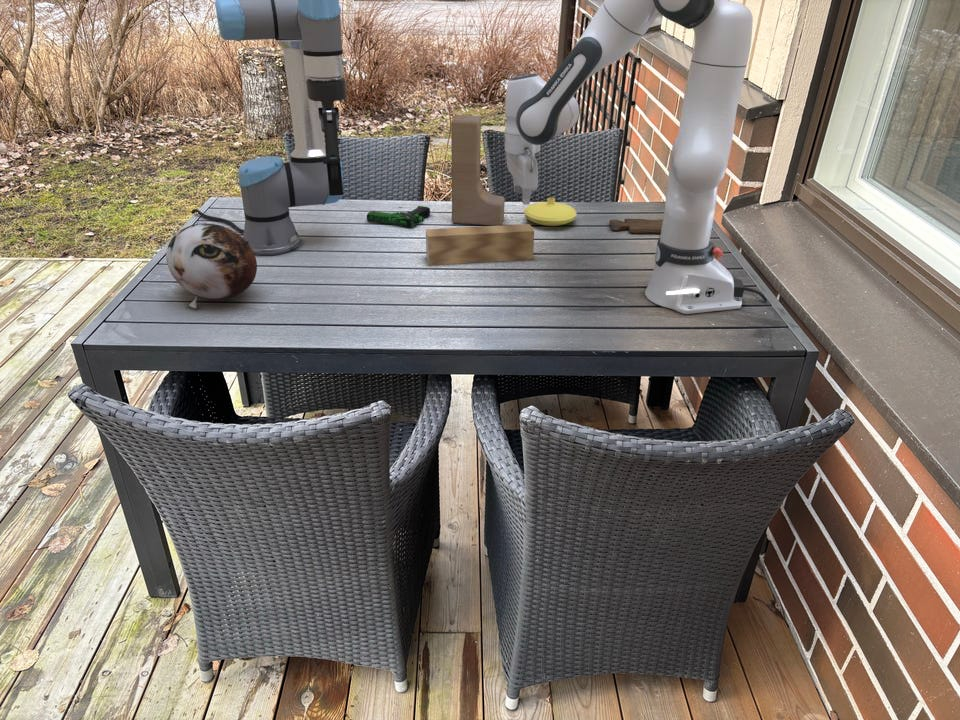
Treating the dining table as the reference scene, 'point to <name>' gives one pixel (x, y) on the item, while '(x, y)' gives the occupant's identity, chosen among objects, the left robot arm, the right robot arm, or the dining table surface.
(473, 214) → the decorative block
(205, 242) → the cat face balloon
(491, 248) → the bar
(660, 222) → the dark wooden board
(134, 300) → the dining table surface
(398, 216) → the handgun
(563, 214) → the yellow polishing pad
